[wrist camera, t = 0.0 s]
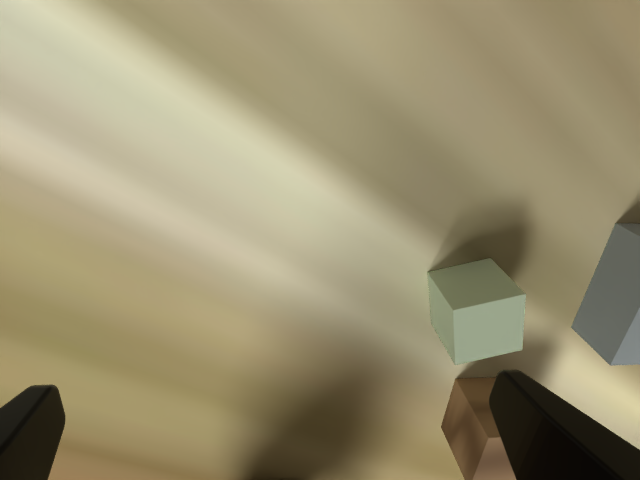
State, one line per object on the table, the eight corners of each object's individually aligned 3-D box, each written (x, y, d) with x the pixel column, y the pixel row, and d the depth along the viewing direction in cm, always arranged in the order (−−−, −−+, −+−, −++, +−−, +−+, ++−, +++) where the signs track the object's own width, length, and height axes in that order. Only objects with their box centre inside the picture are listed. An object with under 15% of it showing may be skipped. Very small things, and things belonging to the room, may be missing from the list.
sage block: (489, 308, 28) (522, 349, 24) (430, 321, 28) (455, 365, 24) (489, 257, 26) (525, 294, 22) (426, 271, 26) (453, 310, 22)
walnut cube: (500, 422, 33) (537, 483, 29) (440, 426, 32) (469, 488, 28) (518, 375, 31) (561, 433, 27) (455, 377, 30) (488, 437, 26)
